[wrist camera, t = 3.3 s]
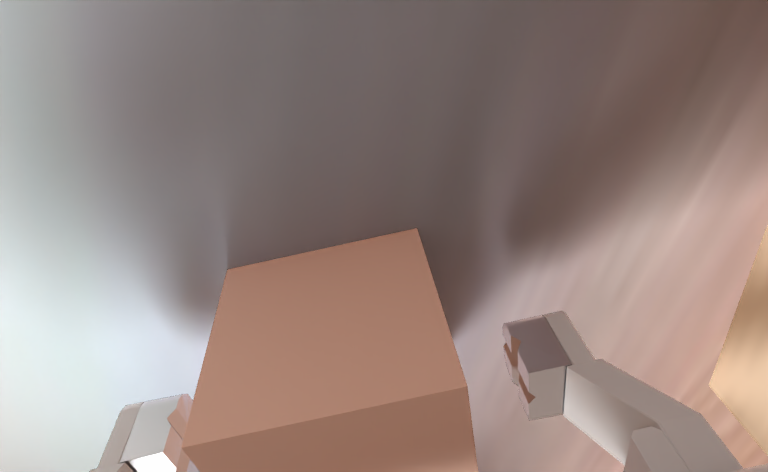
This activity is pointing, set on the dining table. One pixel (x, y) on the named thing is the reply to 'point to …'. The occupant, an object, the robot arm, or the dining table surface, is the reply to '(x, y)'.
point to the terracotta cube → (332, 367)
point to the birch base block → (748, 355)
